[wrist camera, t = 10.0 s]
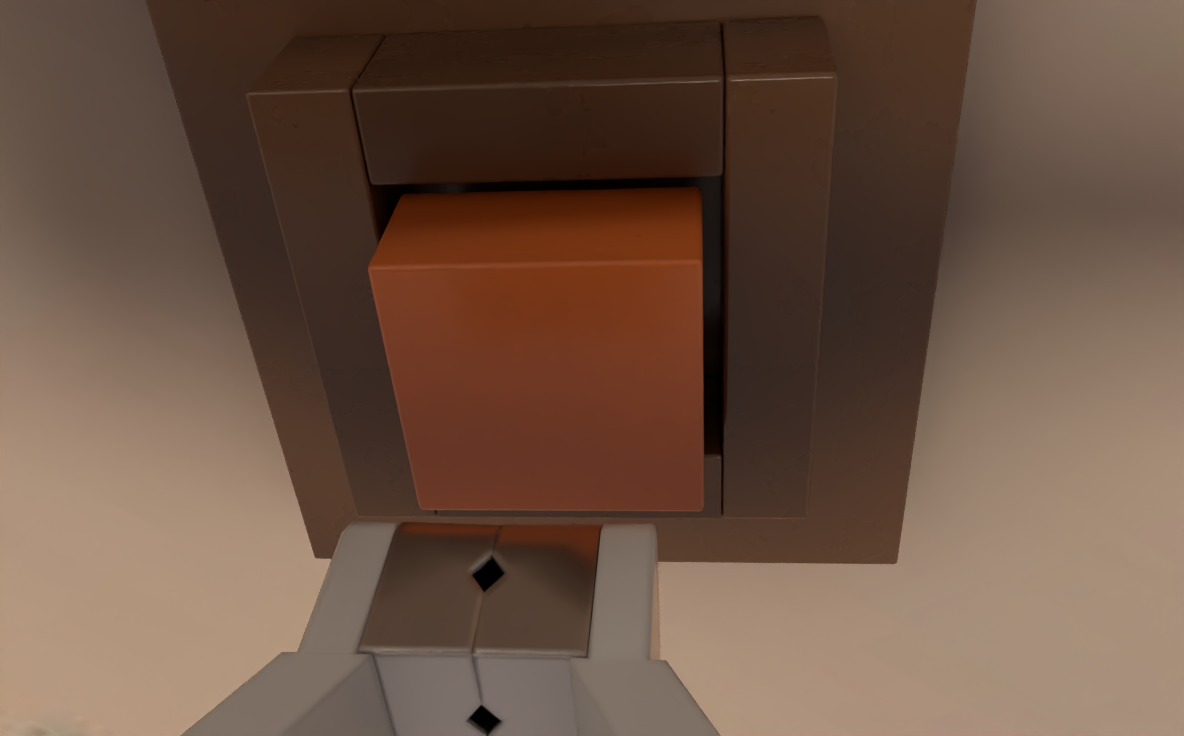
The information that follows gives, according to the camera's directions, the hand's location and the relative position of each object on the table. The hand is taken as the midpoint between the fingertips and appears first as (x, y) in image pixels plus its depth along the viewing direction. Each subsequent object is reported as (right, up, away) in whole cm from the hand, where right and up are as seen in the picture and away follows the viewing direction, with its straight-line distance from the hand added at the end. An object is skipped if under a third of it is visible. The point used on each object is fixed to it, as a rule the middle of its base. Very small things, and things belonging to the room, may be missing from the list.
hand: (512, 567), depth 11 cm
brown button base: (+1, +4, +5) cm, 7 cm away
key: (0, +3, +3) cm, 4 cm away
